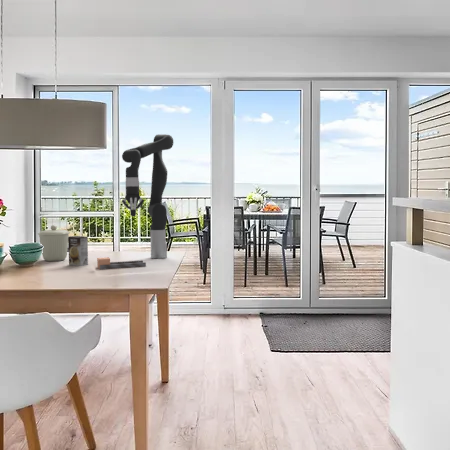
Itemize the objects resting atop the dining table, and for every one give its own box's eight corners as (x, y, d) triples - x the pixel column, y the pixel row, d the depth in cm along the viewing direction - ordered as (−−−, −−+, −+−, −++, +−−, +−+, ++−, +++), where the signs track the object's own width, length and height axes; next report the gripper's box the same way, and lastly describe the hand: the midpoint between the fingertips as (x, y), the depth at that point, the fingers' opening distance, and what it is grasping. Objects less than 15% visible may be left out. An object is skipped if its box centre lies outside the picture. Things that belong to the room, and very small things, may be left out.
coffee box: (68, 265, 285) (67, 236, 284) (76, 263, 291) (75, 235, 289) (80, 266, 281) (79, 237, 279) (88, 264, 286) (87, 236, 285)
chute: (142, 265, 281) (142, 260, 281) (146, 268, 272) (145, 262, 271) (98, 268, 273) (98, 262, 272) (100, 271, 263) (100, 265, 263)
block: (108, 266, 273) (108, 257, 272) (110, 268, 267) (110, 258, 267) (97, 267, 271) (97, 257, 270) (98, 268, 265) (98, 259, 265)
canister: (32, 262, 298) (31, 226, 296) (48, 257, 315) (47, 223, 314) (61, 262, 294) (60, 226, 293) (75, 258, 312) (74, 224, 310)
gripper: (142, 185, 290) (143, 215, 292) (119, 185, 286) (120, 216, 287) (145, 185, 283) (146, 216, 285) (121, 185, 279) (122, 217, 280)
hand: (133, 216), depth 286 cm, fingers closed
